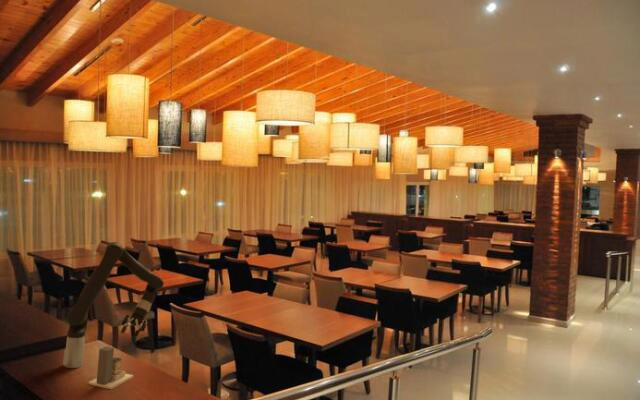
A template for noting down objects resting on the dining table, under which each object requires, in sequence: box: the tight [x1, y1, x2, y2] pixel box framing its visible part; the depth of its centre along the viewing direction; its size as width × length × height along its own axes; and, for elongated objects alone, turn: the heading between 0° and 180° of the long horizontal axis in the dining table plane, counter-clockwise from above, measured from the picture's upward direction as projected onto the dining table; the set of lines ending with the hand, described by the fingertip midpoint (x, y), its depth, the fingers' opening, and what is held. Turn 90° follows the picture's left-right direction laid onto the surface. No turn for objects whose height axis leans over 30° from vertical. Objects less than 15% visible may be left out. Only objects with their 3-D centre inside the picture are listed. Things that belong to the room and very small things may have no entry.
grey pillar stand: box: [88, 346, 134, 390], centre depth 261 cm, size 14×18×19 cm
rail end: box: [112, 356, 122, 376], centre depth 263 cm, size 4×4×10 cm
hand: (128, 335), depth 275 cm, fingers open, 8 cm apart
